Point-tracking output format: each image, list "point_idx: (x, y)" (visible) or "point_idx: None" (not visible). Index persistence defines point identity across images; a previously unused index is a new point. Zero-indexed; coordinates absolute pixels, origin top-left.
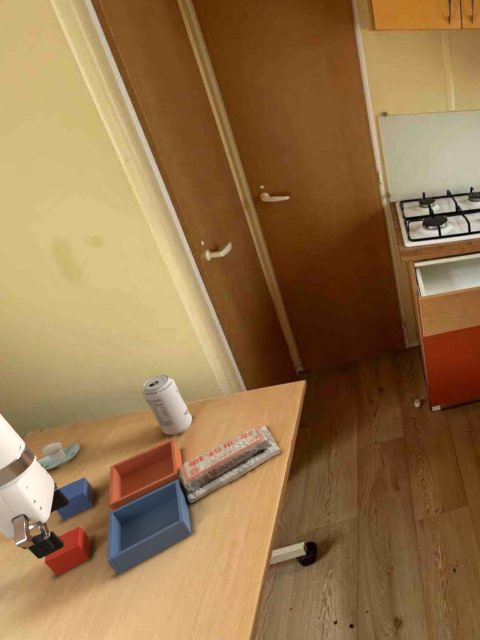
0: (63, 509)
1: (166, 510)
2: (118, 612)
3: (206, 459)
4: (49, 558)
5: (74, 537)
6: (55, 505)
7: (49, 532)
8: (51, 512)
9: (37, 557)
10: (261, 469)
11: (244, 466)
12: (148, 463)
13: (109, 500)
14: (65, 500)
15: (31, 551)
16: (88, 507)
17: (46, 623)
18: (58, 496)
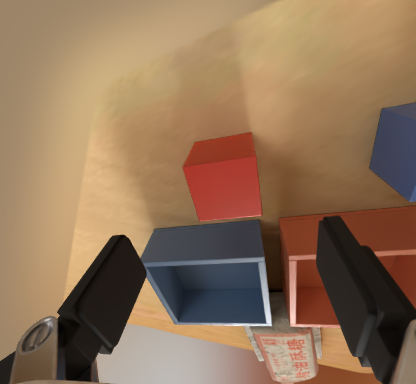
0: (404, 132)
1: (241, 274)
2: (97, 234)
3: (287, 351)
4: (190, 175)
5: (228, 212)
6: (326, 267)
7: (110, 346)
8: (318, 229)
9: (108, 241)
10: (245, 337)
11: (254, 341)
12: (402, 260)
13: (306, 254)
14: (325, 288)
15: (86, 272)
16: (371, 162)
17: (99, 152)
18: (341, 325)
